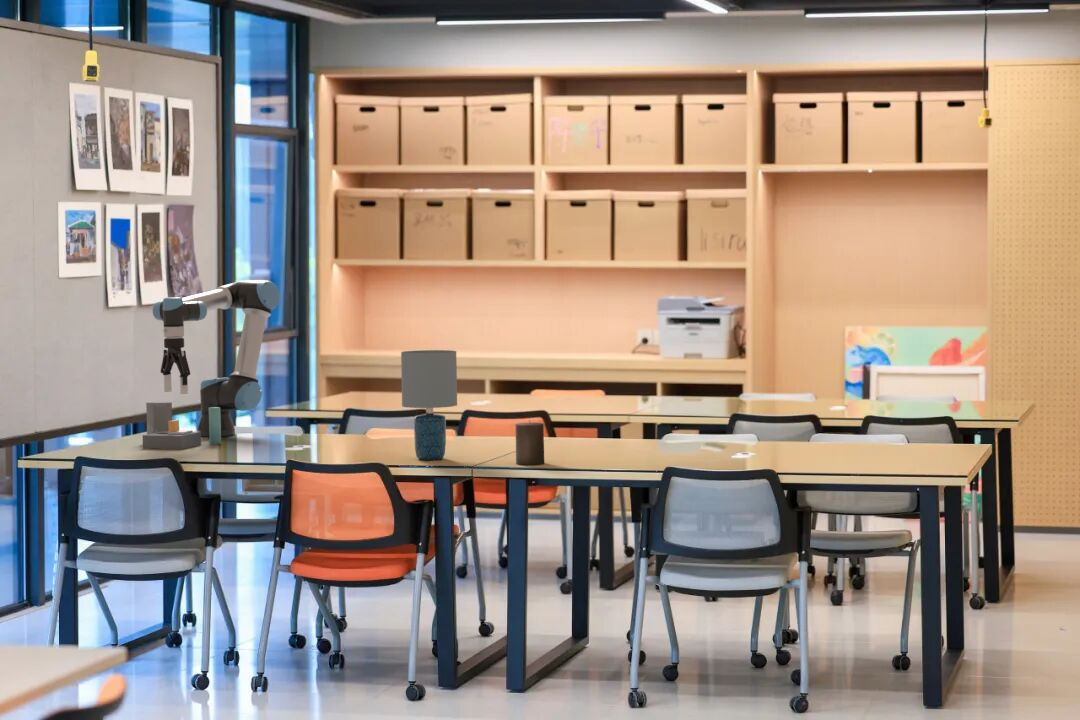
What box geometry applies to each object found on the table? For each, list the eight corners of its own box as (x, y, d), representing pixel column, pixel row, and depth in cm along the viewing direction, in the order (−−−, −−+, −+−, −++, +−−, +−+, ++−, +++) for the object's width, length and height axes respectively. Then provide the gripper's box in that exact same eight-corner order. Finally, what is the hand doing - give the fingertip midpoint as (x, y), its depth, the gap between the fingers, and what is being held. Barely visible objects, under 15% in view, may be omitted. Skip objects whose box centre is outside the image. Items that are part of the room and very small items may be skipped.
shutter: (176, 432, 609) (176, 419, 609) (192, 432, 607) (192, 419, 607) (167, 434, 602) (167, 421, 602) (183, 434, 600) (183, 421, 600)
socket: (163, 443, 616) (163, 431, 616) (201, 444, 612) (200, 431, 611) (142, 448, 601) (142, 435, 600) (180, 449, 596) (180, 436, 596)
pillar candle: (548, 464, 537) (548, 420, 536) (521, 465, 533) (520, 421, 533) (538, 461, 546) (537, 418, 545) (511, 463, 542) (511, 419, 542)
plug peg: (212, 442, 617) (212, 407, 616) (223, 443, 616) (222, 407, 615) (207, 444, 613) (206, 408, 612) (217, 444, 612) (217, 408, 611)
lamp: (413, 463, 543) (411, 353, 541) (395, 457, 561) (393, 351, 559) (465, 460, 551) (464, 351, 549) (446, 454, 568) (445, 349, 566)
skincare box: (154, 443, 618) (153, 403, 617) (145, 442, 623) (144, 402, 622) (174, 441, 623) (173, 401, 622) (165, 440, 628) (164, 400, 628)
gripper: (150, 337, 615) (152, 391, 616) (179, 339, 596) (182, 395, 597) (168, 336, 620) (170, 390, 621) (198, 338, 600) (200, 393, 602)
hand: (176, 392), depth 609 cm, fingers open, 13 cm apart
